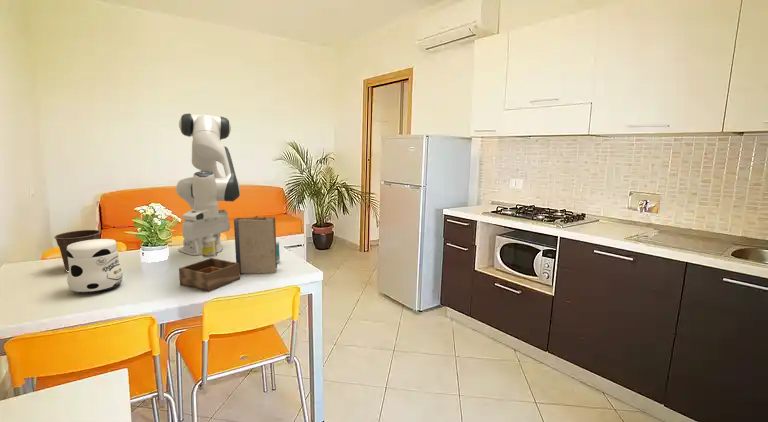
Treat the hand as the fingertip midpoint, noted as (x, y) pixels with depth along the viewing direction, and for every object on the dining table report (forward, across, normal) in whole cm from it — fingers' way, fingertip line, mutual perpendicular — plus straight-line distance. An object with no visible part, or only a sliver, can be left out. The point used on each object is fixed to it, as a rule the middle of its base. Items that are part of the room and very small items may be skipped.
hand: (208, 246), depth 160 cm
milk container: (+15, +25, -33) cm, 44 cm away
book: (+15, -19, +7) cm, 25 cm away
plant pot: (+15, +14, -64) cm, 67 cm away
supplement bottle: (+4, 0, 0) cm, 4 cm away
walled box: (+15, 0, 0) cm, 15 cm away
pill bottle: (+15, -32, +4) cm, 36 cm away
